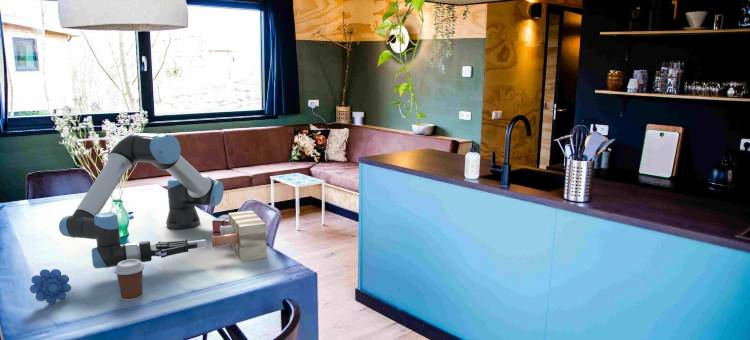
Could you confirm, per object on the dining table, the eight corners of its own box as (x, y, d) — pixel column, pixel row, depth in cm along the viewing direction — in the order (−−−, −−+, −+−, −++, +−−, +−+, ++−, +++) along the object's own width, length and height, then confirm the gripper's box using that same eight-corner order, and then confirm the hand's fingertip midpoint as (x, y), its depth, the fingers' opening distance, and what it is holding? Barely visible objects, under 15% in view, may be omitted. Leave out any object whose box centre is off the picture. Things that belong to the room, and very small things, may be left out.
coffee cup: (111, 301, 179) (107, 266, 177) (127, 290, 188) (124, 257, 186) (136, 303, 178) (133, 268, 176) (152, 292, 187) (149, 258, 185)
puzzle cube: (234, 244, 236) (233, 222, 234) (213, 243, 238) (211, 220, 236) (244, 237, 245) (243, 215, 243) (223, 236, 247) (222, 214, 245)
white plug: (220, 235, 229) (219, 224, 228) (253, 230, 235) (252, 220, 234) (222, 238, 225) (221, 227, 224) (255, 233, 231) (255, 223, 230)
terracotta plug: (211, 245, 216) (211, 234, 216) (246, 240, 222) (246, 229, 221) (213, 249, 212) (213, 237, 211) (249, 244, 218) (249, 232, 217)
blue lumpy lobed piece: (36, 313, 171) (31, 276, 169) (30, 306, 176) (25, 271, 174) (76, 301, 180) (72, 266, 177) (69, 295, 184) (65, 261, 182)
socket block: (230, 244, 235) (228, 213, 232) (253, 241, 239) (252, 210, 236) (241, 261, 215) (239, 226, 213) (266, 257, 220) (265, 223, 217)
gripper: (139, 256, 209) (203, 247, 219) (141, 267, 198) (209, 257, 208) (137, 237, 208) (202, 229, 218) (139, 247, 196) (207, 238, 206)
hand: (205, 243), depth 213 cm, fingers closed
